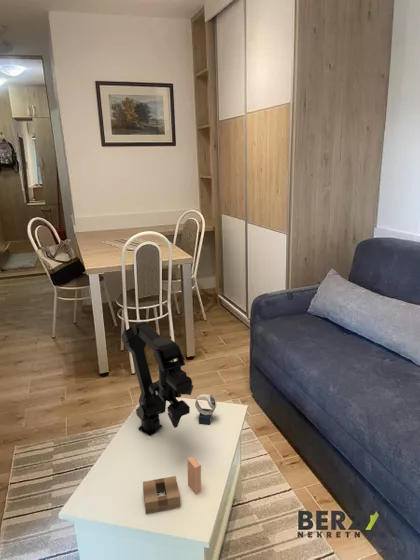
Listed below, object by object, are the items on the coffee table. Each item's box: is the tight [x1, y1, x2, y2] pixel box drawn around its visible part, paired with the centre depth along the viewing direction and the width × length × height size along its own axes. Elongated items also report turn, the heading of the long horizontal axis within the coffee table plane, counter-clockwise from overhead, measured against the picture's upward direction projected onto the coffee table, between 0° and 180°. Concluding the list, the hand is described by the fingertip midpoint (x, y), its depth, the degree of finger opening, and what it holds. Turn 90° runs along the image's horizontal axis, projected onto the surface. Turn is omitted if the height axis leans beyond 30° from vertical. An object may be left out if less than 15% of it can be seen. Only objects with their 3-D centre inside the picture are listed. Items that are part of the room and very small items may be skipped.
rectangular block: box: [187, 456, 202, 495], centre depth 124 cm, size 4×2×10 cm, turn 34°
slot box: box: [142, 475, 181, 515], centre depth 121 cm, size 8×10×4 cm
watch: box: [194, 393, 217, 426], centre depth 155 cm, size 6×8×11 cm
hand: (169, 419), depth 137 cm, fingers open, 9 cm apart
